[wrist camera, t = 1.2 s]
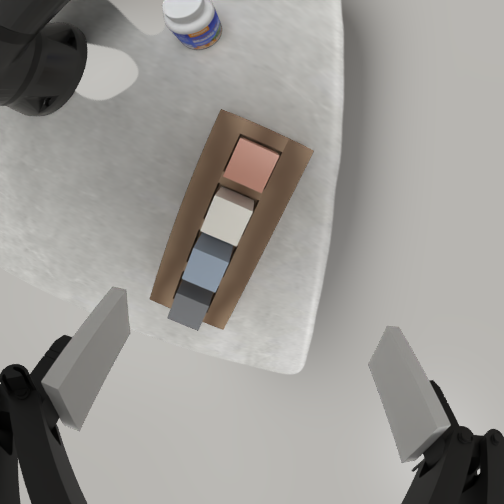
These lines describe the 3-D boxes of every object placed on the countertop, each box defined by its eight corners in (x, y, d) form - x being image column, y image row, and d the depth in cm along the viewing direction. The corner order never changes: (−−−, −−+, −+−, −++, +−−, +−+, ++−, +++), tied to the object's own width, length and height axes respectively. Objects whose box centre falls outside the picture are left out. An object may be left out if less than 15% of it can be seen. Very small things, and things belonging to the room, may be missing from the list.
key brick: (228, 170, 32) (222, 176, 27) (243, 137, 30) (240, 138, 26) (261, 184, 32) (261, 193, 28) (276, 152, 31) (279, 155, 26)
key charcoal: (177, 296, 38) (167, 318, 34) (186, 272, 37) (176, 292, 32) (204, 308, 39) (198, 330, 34) (215, 284, 37) (209, 306, 33)
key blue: (191, 259, 36) (181, 278, 31) (202, 231, 34) (193, 247, 30) (220, 272, 36) (215, 292, 32) (233, 245, 35) (228, 262, 30)
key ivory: (208, 217, 34) (200, 230, 29) (221, 186, 32) (214, 195, 28) (239, 230, 34) (236, 246, 30) (254, 200, 33) (252, 211, 28)
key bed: (158, 285, 42) (149, 299, 38) (225, 111, 32) (221, 109, 29) (226, 313, 43) (223, 329, 40) (308, 149, 34) (313, 150, 30)
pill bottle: (203, 57, 29) (183, 33, 20) (171, 38, 28) (144, 12, 19) (231, 27, 28) (221, -5, 19) (199, 8, 27) (180, -25, 18)
